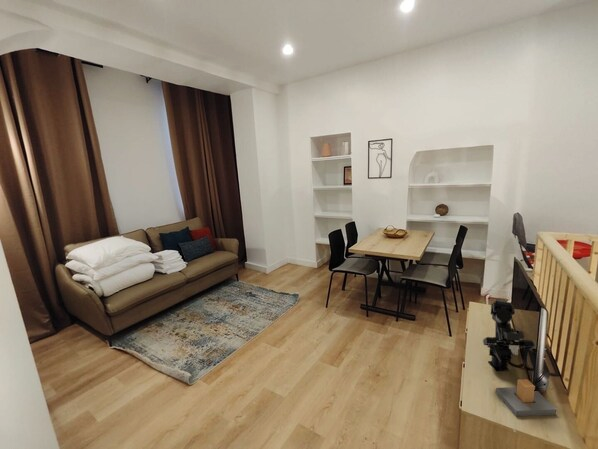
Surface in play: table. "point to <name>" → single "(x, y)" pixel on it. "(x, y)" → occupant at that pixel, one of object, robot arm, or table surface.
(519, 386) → the orange bar
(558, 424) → the table surface
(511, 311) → the robot arm
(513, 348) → the medicine bottle
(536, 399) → the jig plate
